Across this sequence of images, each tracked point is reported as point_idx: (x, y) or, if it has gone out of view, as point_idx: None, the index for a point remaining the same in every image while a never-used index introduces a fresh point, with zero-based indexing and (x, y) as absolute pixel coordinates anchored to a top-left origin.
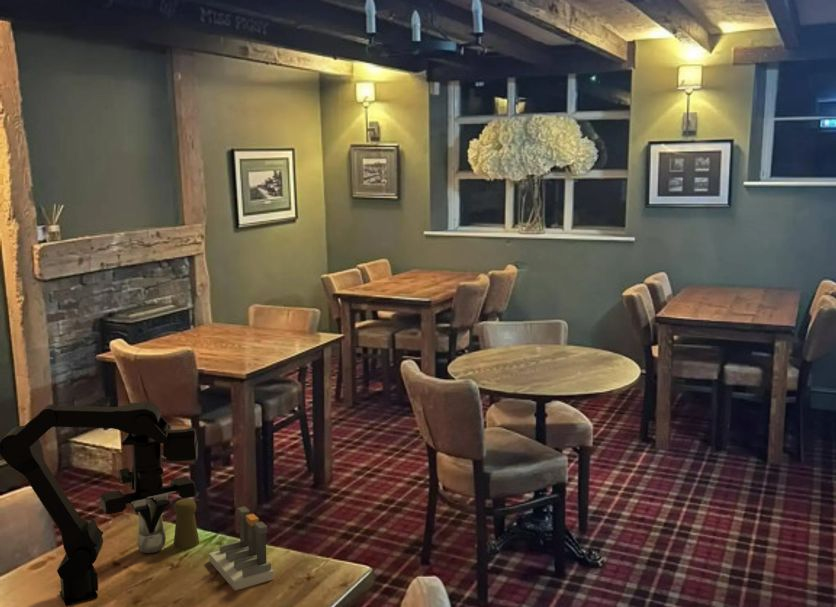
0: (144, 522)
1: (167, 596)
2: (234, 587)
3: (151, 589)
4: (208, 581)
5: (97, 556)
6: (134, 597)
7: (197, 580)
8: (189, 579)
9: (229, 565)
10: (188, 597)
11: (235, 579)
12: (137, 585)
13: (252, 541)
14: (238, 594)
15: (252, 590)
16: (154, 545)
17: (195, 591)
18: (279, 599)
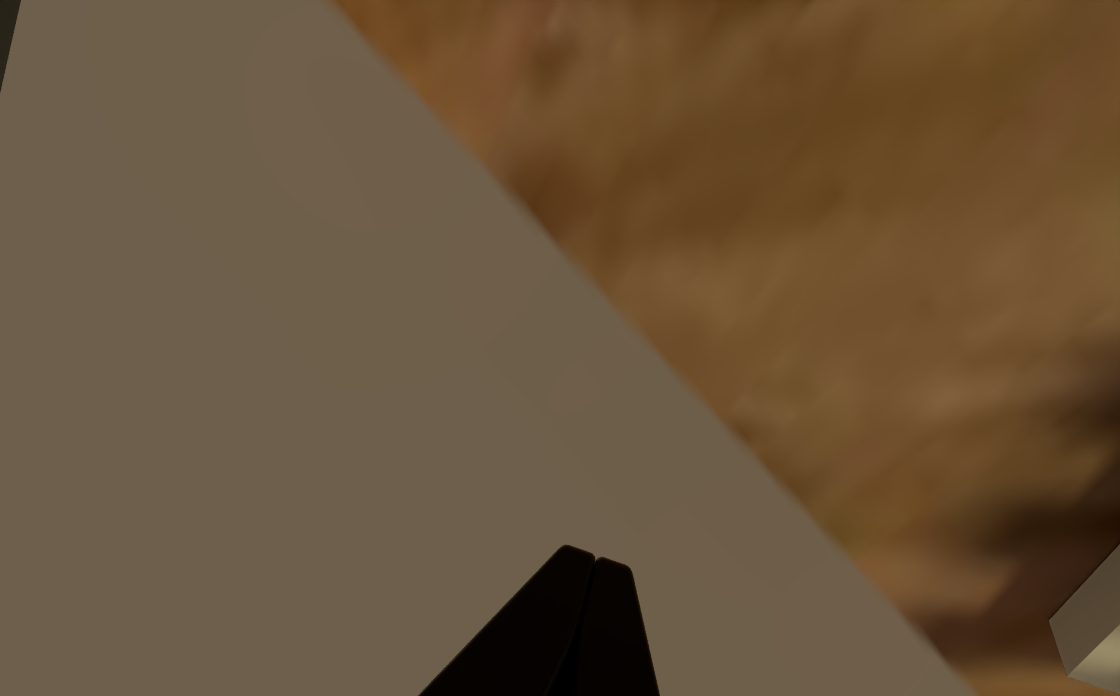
0: (440, 682)
1: (704, 347)
2: (1057, 633)
3: (688, 168)
4: (1069, 413)
5: (13, 29)
6: (529, 175)
7: (1034, 337)
8: (1012, 274)
9: None
10: (790, 460)
11: (1105, 663)
12: (647, 4)
13: None
14: (1016, 655)
15: None
16: None
17: (881, 442)
18: None
